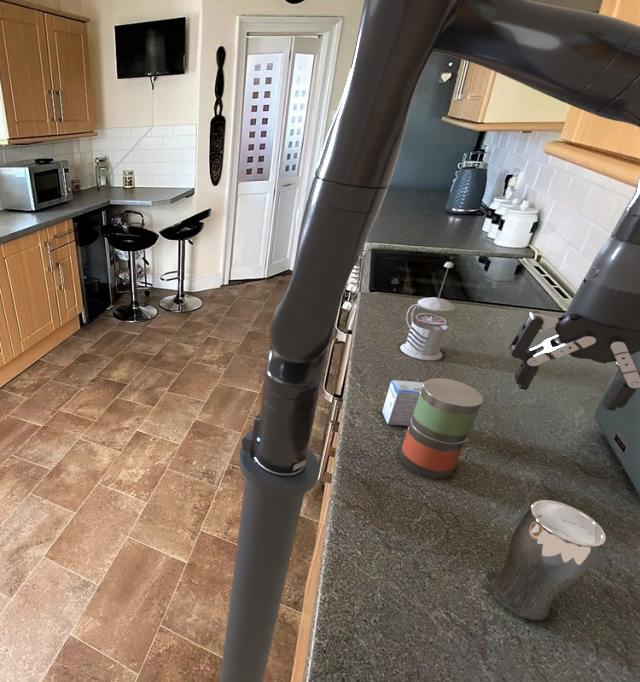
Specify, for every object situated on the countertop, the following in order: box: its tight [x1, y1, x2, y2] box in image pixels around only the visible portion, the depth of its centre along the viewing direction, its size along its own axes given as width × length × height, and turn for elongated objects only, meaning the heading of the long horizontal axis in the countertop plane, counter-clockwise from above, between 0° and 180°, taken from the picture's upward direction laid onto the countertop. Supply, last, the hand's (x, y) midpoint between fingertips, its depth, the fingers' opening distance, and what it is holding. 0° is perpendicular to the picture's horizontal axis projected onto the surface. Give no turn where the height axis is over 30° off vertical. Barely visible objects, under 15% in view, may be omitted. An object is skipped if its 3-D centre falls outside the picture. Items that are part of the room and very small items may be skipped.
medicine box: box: [382, 379, 424, 427], centre depth 89 cm, size 8×4×9 cm, turn 77°
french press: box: [399, 261, 456, 361], centre depth 112 cm, size 10×12×25 cm
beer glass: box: [490, 499, 607, 621], centre depth 55 cm, size 7×7×15 cm
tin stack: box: [399, 377, 484, 479], centre depth 77 cm, size 9×9×16 cm
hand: (562, 396), depth 57 cm, fingers open, 8 cm apart
